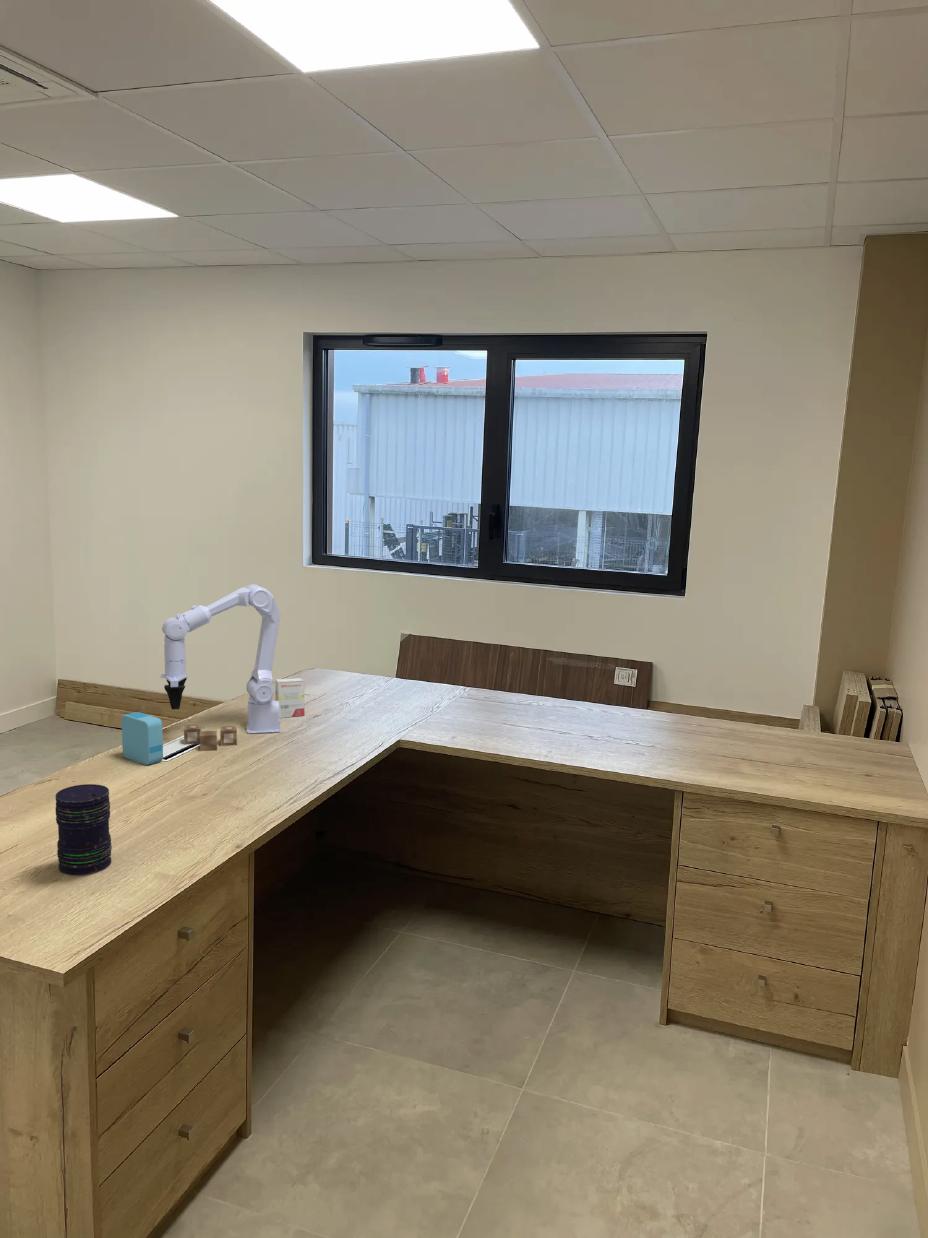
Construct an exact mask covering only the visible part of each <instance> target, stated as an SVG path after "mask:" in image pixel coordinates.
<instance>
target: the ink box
mask: <svg viewBox="0 0 928 1238" xmlns="http://www.w3.org/2000/svg"><path fill="white" fill-rule="evenodd" d="M274 697H275V699H274V701H279V719H283V718H294V717H295V718H296V717H304V716H305V680H304V679H303V678H301V677H297V678H294V677H293V678H278V679H277V678H276V679H275V690H274Z"/></svg>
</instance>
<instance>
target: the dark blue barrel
mask: <svg viewBox="0 0 928 1238" xmlns="http://www.w3.org/2000/svg"><path fill="white" fill-rule="evenodd" d="M54 797H55V816H56V817H55V821H56V825H57V831H58V834H57V835H58V840H57V842H56V845H57V846H56V847H57V851H56V855H57V861H58V871H59V872H60V873H62V874H63V875H66V876H73V877H74V876H77V877H79V876H87V875H88V876H89V875H92V874H95V873H96V874H97V873H100V872H102V871H104V870H106V869H107V868H109V867H110V866H111V865H112V857H111V856H112V850H113V849H112V847H113V846H112V835H111V834H110V818H111V802H110V789H109V787H108V786H105V785H103V784H102V785H101V784H93V783H90V784H89V783H87V784H77V785H73V786H68V787H65V788H62V789H61V790H59V791H57V792H56V794H55V796H54Z"/></svg>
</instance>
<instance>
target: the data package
mask: <svg viewBox="0 0 928 1238" xmlns="http://www.w3.org/2000/svg"><path fill="white" fill-rule="evenodd" d="M121 738H122V739H121V740H122V741H121V743H122V755H123V756H124V757H125V758H126V759H129V760H132V761H134V762H137V763H140V764H143V765H145V766H149V765H153V764H155V763H160V762H162V761H163V759H164V746H163V744H164V741H163V740H164V739H163V722H162V720H161V718H159V717H157V716H154V715H149V714H147V713H142V712H140V711H136V712H132V713H126V714H123V715H122V717H121Z"/></svg>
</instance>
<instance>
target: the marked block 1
mask: <svg viewBox="0 0 928 1238" xmlns="http://www.w3.org/2000/svg"><path fill="white" fill-rule="evenodd" d="M201 726H202V725H201V724H184V727H183V737H184V738H183V744H184V745H200V731H202V729H201Z"/></svg>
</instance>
